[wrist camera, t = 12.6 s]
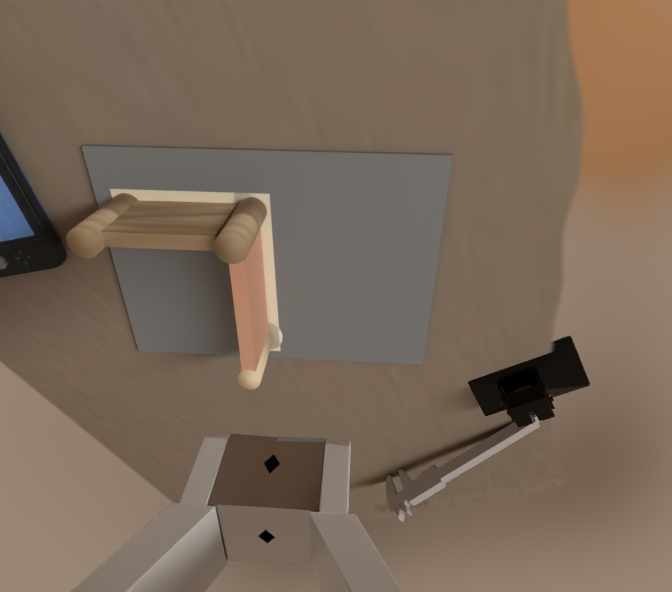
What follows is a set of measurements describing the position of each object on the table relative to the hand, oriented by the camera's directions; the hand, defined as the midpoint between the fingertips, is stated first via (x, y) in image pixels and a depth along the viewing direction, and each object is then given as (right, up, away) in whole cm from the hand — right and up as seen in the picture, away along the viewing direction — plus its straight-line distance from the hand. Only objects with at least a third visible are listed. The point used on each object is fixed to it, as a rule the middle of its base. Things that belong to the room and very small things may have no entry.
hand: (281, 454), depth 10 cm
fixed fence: (-11, +11, +30) cm, 33 cm away
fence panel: (-6, +4, +33) cm, 34 cm away
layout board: (-5, +6, +32) cm, 33 cm away
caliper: (+16, -14, +44) cm, 49 cm away
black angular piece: (+20, -5, +39) cm, 44 cm away
